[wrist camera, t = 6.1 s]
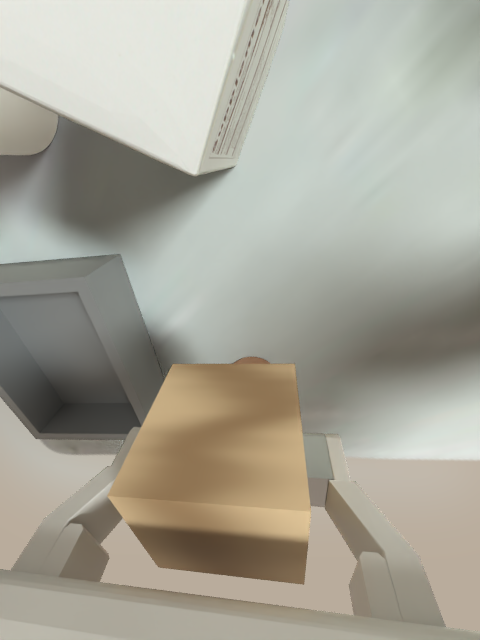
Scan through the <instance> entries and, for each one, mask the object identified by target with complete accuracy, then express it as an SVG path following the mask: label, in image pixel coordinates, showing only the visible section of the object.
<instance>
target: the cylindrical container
mask: <svg viewBox="0 0 480 640" xmlns="http://www.w3.org/2000/svg"><path fill="white" fill-rule="evenodd" d="M57 125H58V115H57V114H55V113H53V112H51V111H49V110H47V109H45V108H42V107H40V106H38V105H36V104H34V103H32V102H30V101H28V100H26V99H24V98H21V97H19V96H17V95H15V94H13V93H11V92H9V91H7V90H5V89H2V88H0V155H33V154H36V153H39V152H41V151H43V150H44V149H45V148H47V147H48V146H49V144H50V143H51V142H52V140H53V138H54V136H55V133H56V130H57Z"/></svg>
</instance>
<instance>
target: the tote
mask: <svg viewBox="0 0 480 640" xmlns="http://www.w3.org/2000/svg"><path fill="white" fill-rule="evenodd" d="M163 382H164V377H163V375H162V372H161V369H160V366H159V363H158V360H157V358H156V355H155V352H154V349H153V346H152V343H151V341H150V338H149V335H148V332H147V329H146V326H145V323H144V321H143V318H142V315H141V312H140V309H139V306H138V304H137V301H136V298H135V295H134V292H133V289H132V287H131V284H130V281H129V278H128V275H127V272H126V269H125V267H124V264H123V261H122V258H121V255H120V254H116V255H104V256H92V257H80V258H69V259H57V260H45V261H33V262H21V263H9V264H0V397H1V398H2V399H3V401H4V402H5V403H6V404H7V405H8V406H9V408H10V409H11V410H12V411H13V412H14V413H15V415H16V416H17V417H18V418H19V419H20V421H21V422H22V423H23V424H24V425H25V427H26V428H27V429H28V430H29V431H30V432H31V434H32V435H33V436H34V437H35V438H36V439H91V440H125V439H126V437H127V435H128V434H129V432H130V430H131V429H132V428H133V427H142V425H143V423H144V421H145V419H146V417H147V415H148V413H149V411H150V409H151V407H152V405H153V403H154V401H155V399H156V397H157V395H158V393H159V390H160V388H161V386H162V384H163Z"/></svg>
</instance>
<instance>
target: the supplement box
mask: <svg viewBox="0 0 480 640" xmlns="http://www.w3.org/2000/svg"><path fill="white" fill-rule="evenodd" d="M289 1H290V0H0V88H2V89H5V90H7V91H9V92H11V93H13V94H15V95H17V96H19V97H21V98H24V99H26V100H28V101H30V102H32V103H34V104H36V105H38V106H40V107H42V108H45V109H47V110H49V111H51V112H53V113H55V114H57V115H59V116H62V117H64V118H66V119H68V120H70V121H73V122H75V123H77V124H79V125H81V126H84V127H86V128H88V129H90V130H92V131H94V132H97V133H99V134H101V135H103V136H105V137H108V138H110V139H112V140H114V141H116V142H118V143H120V144H122V145H125V146H127V147H129V148H131V149H133V150H135V151H137V152H140V153H142V154H144V155H146V156H148V157H150V158H152V159H155V160H157V161H159V162H161V163H164V164H166V165H168V166H171V167H173V168H175V169H177V170H180V171H182V172H184V173H187V174H189V175H192V176H194V177H196V176H198V175H201V174H207V173H210V172H215V171H220V170H224V169H227V168H231V167H235V166H236V165H237V162H238V159H239V156H240V153H241V150H242V147H243V144H244V141H245V139H246V136H247V133H248V130H249V127H250V124H251V122H252V119H253V116H254V113H255V110H256V107H257V104H258V101H259V99H260V96H261V93H262V90H263V87H264V84H265V81H266V79H267V76H268V73H269V70H270V67H271V64H272V61H273V58H274V55H275V52H276V49H277V46H278V44H279V40H280V37H281V34H282V31H283V28H284V25H285V19H286V14H287V9H288V5H289Z"/></svg>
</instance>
